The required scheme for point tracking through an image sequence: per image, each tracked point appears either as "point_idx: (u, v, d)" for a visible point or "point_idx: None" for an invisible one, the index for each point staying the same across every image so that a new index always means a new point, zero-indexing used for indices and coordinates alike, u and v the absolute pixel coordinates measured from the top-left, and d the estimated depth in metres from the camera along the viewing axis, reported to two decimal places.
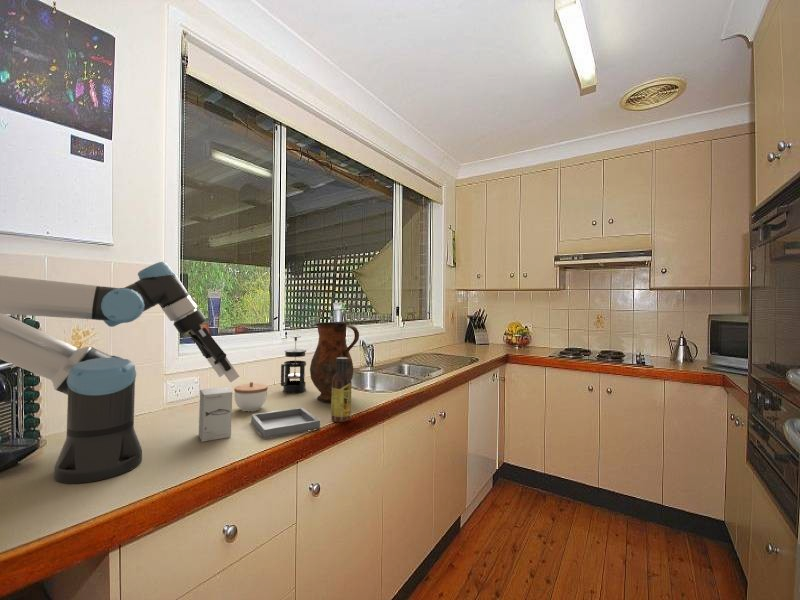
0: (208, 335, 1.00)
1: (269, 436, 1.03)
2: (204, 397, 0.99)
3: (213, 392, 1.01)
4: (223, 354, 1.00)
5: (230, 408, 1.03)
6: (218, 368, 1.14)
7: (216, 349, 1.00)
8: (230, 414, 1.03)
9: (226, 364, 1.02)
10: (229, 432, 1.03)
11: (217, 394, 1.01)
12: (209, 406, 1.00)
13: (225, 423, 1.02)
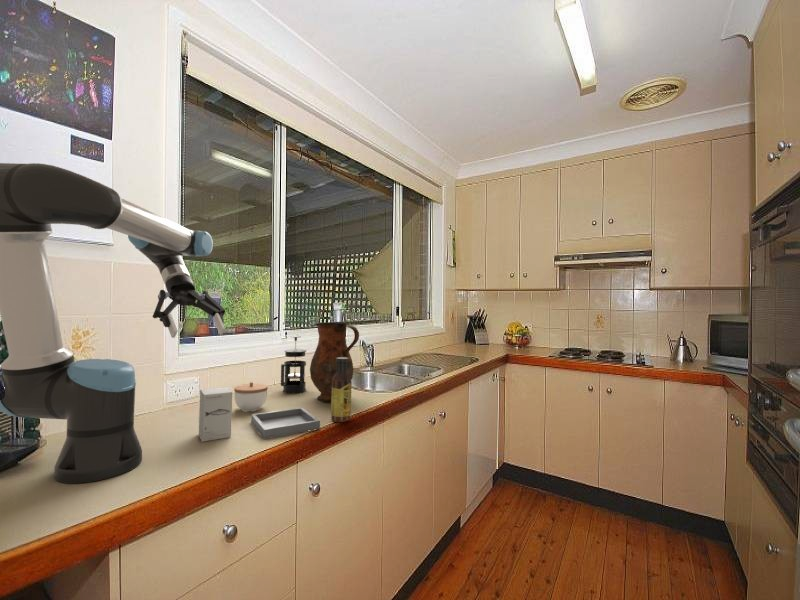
0: None
1: (269, 436, 1.03)
2: (204, 397, 0.99)
3: (213, 392, 1.01)
4: None
5: (230, 408, 1.03)
6: None
7: None
8: (230, 414, 1.03)
9: None
10: (229, 432, 1.03)
11: (217, 394, 1.01)
12: (209, 406, 1.00)
13: (225, 423, 1.02)
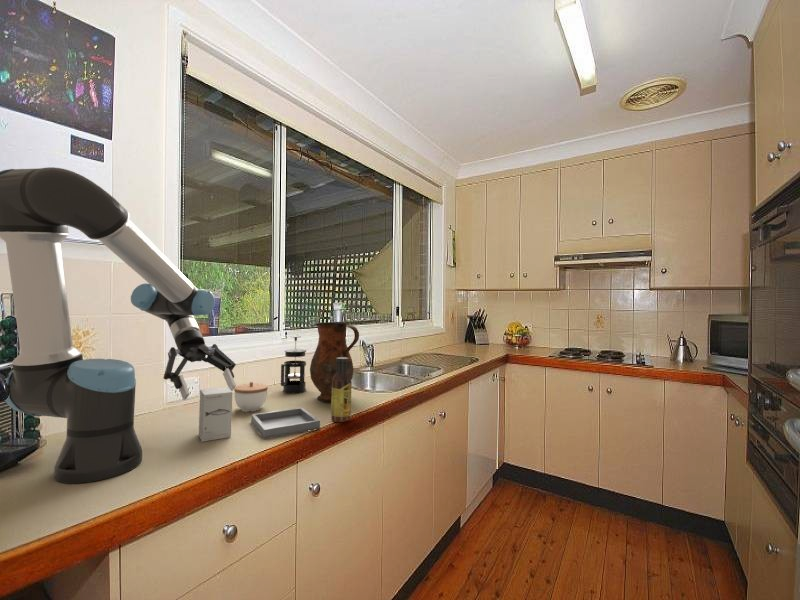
0: None
1: (269, 436, 1.03)
2: (204, 397, 0.99)
3: (213, 392, 1.01)
4: None
5: (230, 408, 1.03)
6: None
7: None
8: (230, 414, 1.03)
9: None
10: (229, 432, 1.03)
11: (217, 394, 1.01)
12: (209, 406, 1.00)
13: (225, 423, 1.02)
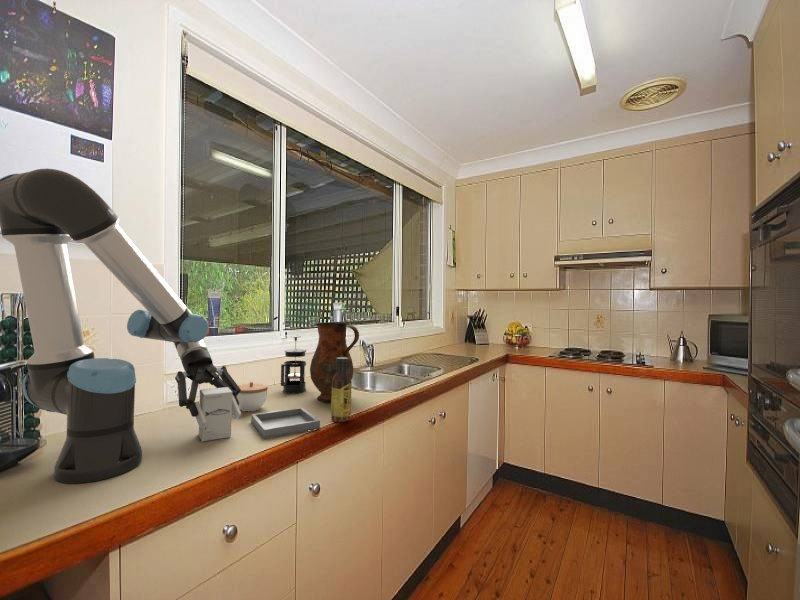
0: None
1: (269, 436, 1.03)
2: (204, 397, 0.99)
3: (213, 392, 1.01)
4: None
5: (230, 408, 1.03)
6: None
7: None
8: (230, 414, 1.03)
9: None
10: (229, 432, 1.03)
11: (217, 394, 1.01)
12: (209, 406, 1.00)
13: (225, 423, 1.02)
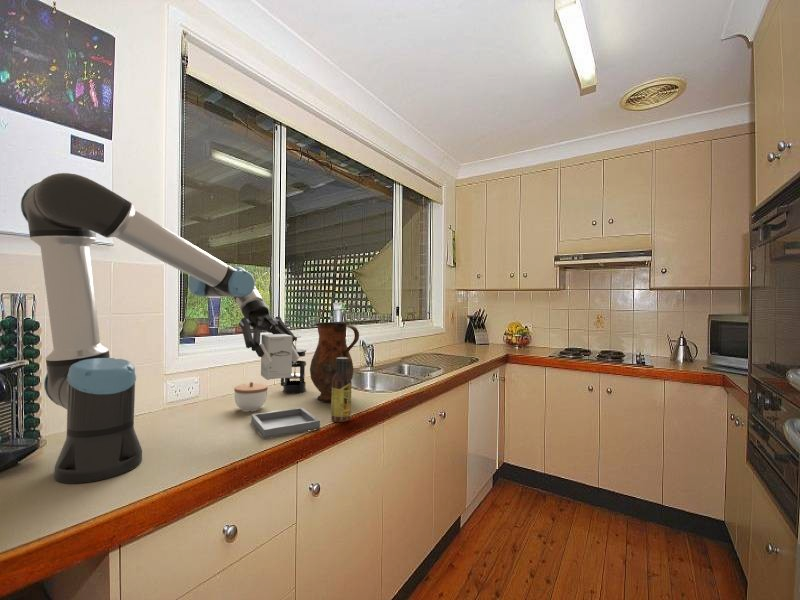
0: None
1: (269, 436, 1.03)
2: (269, 339, 1.08)
3: (275, 335, 1.11)
4: None
5: (291, 350, 1.12)
6: None
7: None
8: (290, 356, 1.12)
9: None
10: (290, 372, 1.12)
11: (280, 337, 1.10)
12: (273, 347, 1.09)
13: (286, 364, 1.11)
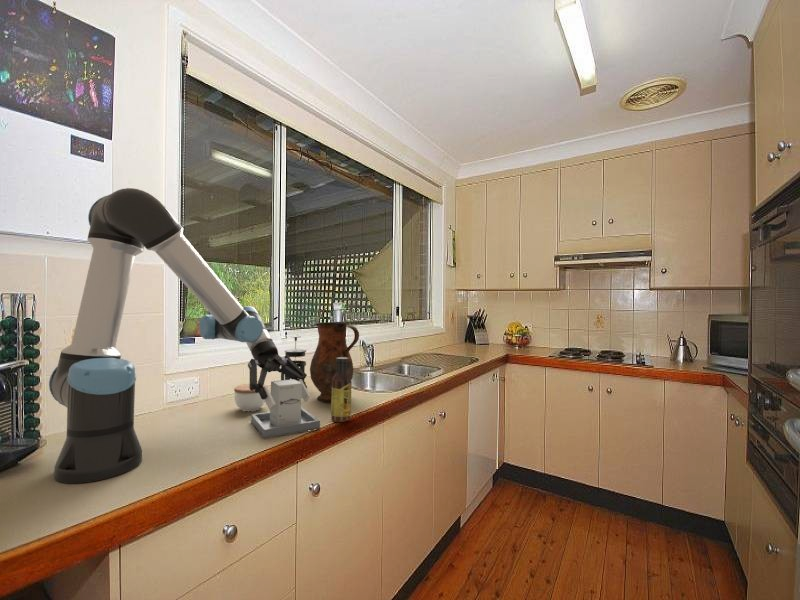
0: None
1: (269, 436, 1.03)
2: (279, 387, 1.09)
3: (285, 383, 1.11)
4: None
5: (300, 398, 1.13)
6: None
7: None
8: (300, 403, 1.13)
9: None
10: (299, 420, 1.13)
11: (289, 385, 1.11)
12: (283, 395, 1.10)
13: (296, 412, 1.12)
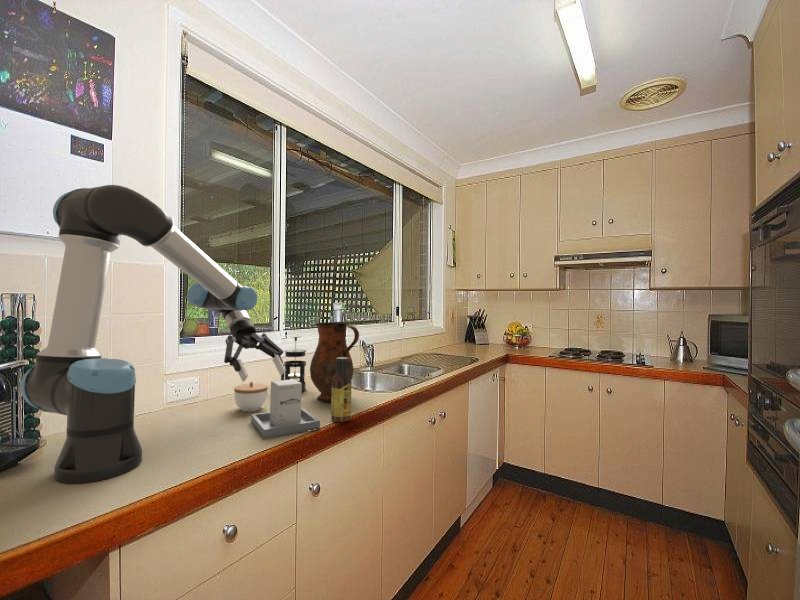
0: None
1: (269, 436, 1.03)
2: (279, 387, 1.09)
3: (285, 383, 1.11)
4: None
5: (300, 398, 1.13)
6: None
7: None
8: (300, 403, 1.13)
9: None
10: (299, 420, 1.13)
11: (289, 385, 1.11)
12: (283, 395, 1.10)
13: (296, 412, 1.12)
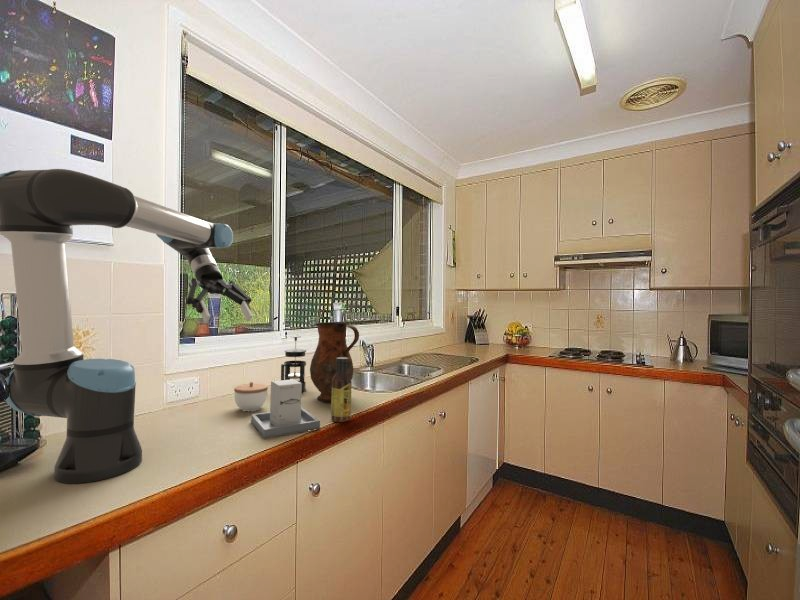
0: None
1: (269, 436, 1.03)
2: (279, 387, 1.09)
3: (285, 383, 1.11)
4: None
5: (300, 398, 1.13)
6: None
7: None
8: (300, 403, 1.13)
9: None
10: (299, 420, 1.13)
11: (289, 385, 1.11)
12: (283, 395, 1.10)
13: (296, 412, 1.12)
